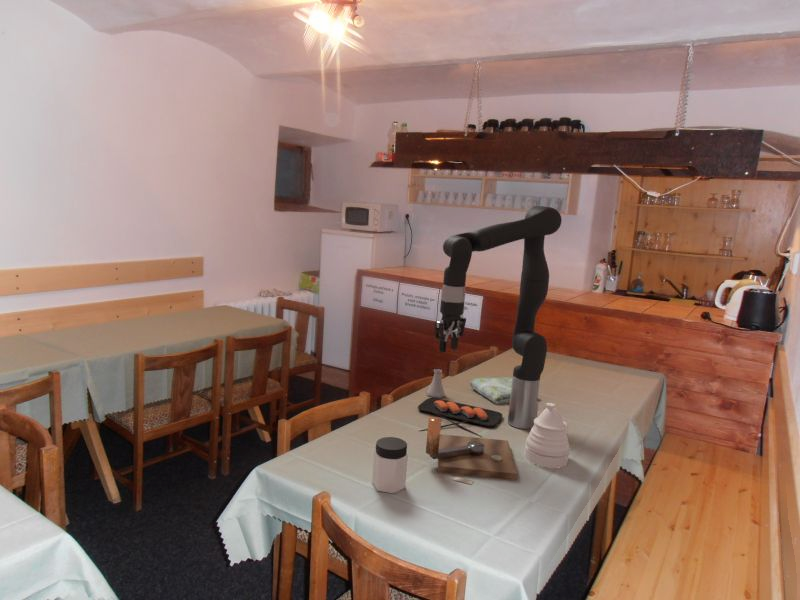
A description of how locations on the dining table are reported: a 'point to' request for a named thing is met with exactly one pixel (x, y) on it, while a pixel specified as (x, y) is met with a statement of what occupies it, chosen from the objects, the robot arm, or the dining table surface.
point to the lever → (436, 453)
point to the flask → (436, 385)
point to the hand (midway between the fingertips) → (448, 350)
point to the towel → (494, 388)
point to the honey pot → (548, 440)
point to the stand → (478, 459)
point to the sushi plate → (460, 412)
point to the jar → (390, 465)
